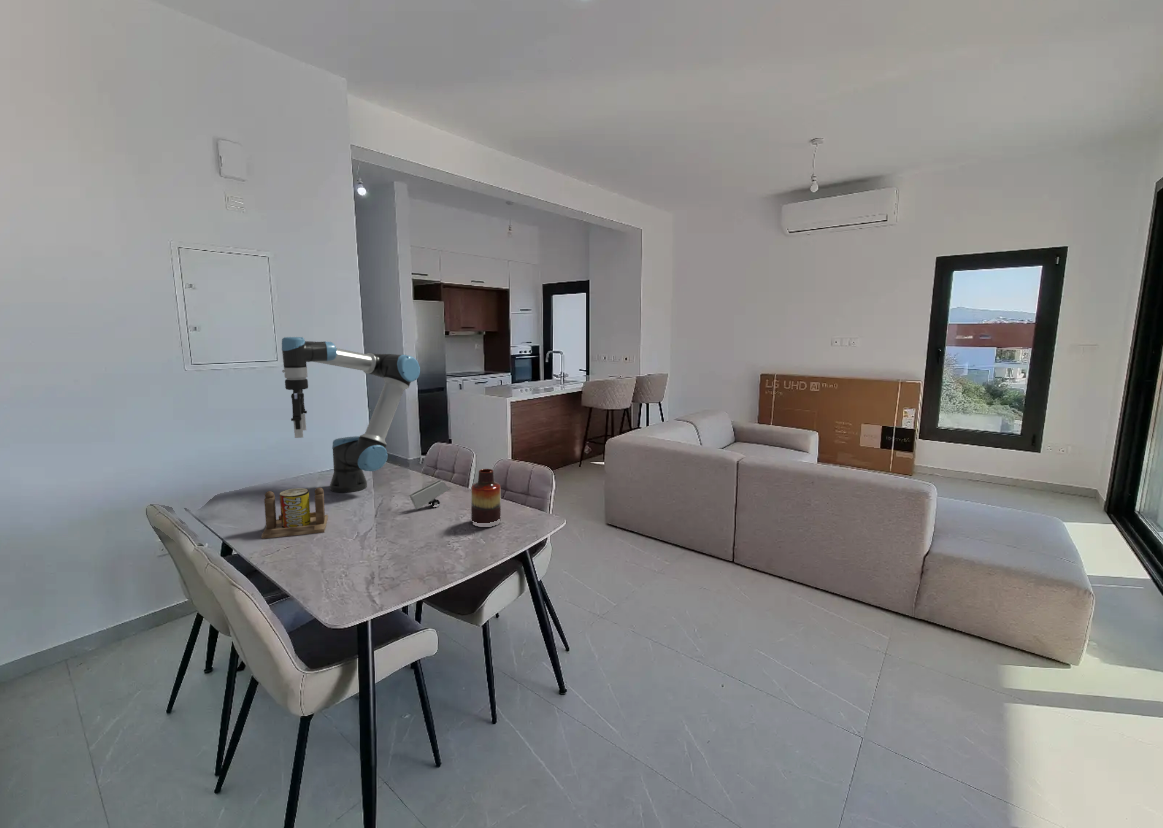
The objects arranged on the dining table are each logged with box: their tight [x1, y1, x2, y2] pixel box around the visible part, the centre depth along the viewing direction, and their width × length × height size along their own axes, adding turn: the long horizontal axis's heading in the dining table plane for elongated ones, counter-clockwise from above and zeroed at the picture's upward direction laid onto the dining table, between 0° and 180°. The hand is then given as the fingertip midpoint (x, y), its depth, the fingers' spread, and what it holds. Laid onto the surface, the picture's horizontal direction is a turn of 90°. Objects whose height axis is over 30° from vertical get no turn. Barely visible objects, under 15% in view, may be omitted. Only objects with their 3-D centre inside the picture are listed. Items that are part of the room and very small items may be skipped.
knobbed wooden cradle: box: [260, 487, 329, 540], centre depth 182 cm, size 19×15×14 cm
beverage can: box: [279, 487, 311, 528], centre depth 182 cm, size 9×9×12 cm
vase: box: [470, 468, 502, 523], centre depth 192 cm, size 11×11×20 cm
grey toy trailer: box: [408, 479, 450, 510], centre depth 208 cm, size 4×10×15 cm
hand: (300, 433), depth 196 cm, fingers open, 13 cm apart
